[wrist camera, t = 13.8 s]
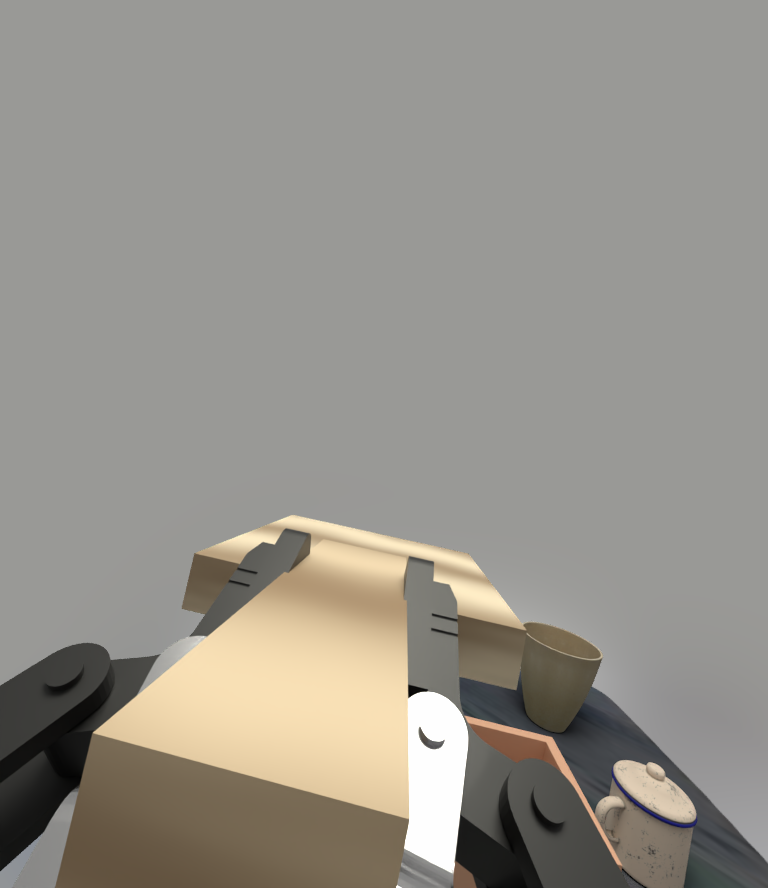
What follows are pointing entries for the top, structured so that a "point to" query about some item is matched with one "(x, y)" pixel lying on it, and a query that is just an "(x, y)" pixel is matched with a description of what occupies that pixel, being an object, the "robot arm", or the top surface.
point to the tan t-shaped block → (279, 726)
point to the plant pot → (556, 674)
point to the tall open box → (517, 749)
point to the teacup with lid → (648, 824)
